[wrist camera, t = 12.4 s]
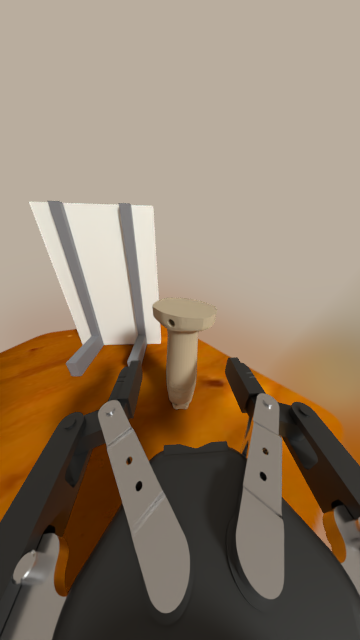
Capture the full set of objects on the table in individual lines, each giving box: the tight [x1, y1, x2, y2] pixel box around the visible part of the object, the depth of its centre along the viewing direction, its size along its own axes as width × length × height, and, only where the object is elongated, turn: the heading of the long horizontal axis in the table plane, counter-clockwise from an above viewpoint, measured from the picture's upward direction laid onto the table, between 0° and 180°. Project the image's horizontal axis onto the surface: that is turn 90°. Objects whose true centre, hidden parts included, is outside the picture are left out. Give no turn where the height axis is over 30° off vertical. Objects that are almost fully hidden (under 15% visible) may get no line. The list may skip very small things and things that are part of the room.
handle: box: [152, 298, 217, 410], centre depth 17 cm, size 5×6×15 cm
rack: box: [29, 201, 161, 376], centre depth 23 cm, size 18×10×26 cm, turn 93°
